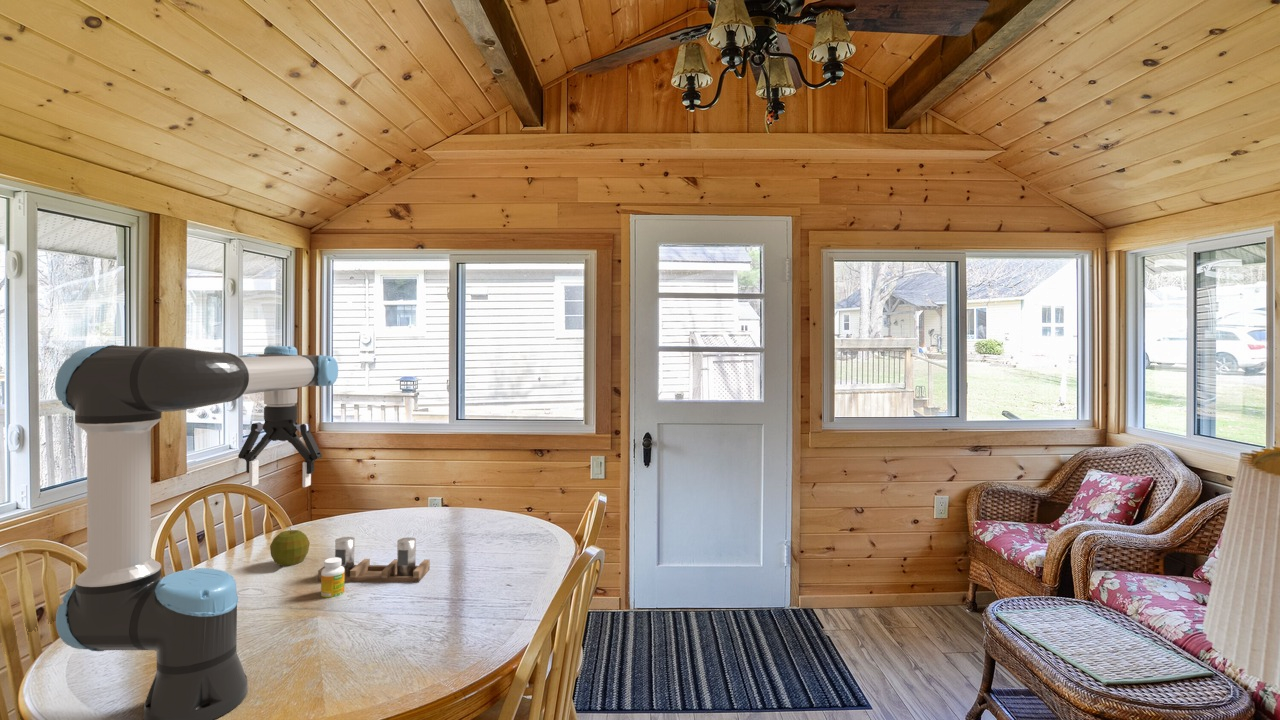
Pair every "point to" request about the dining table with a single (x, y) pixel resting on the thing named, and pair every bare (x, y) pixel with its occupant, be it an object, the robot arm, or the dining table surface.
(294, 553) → the apple
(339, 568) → the supplement bottle
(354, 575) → the wooden spice rack
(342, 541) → the shiny gray cylinder
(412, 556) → the glass spice jar
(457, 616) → the dining table surface
